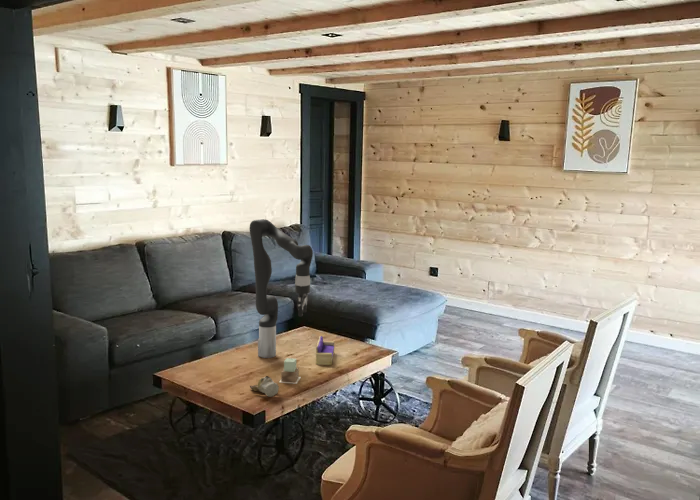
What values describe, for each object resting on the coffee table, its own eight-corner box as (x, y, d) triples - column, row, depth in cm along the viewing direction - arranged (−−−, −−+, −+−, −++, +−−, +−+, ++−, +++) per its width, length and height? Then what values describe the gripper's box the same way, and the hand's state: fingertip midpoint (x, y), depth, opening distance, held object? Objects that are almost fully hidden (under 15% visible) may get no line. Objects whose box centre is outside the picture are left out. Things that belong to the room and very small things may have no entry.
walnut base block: (281, 381, 297) (281, 371, 296) (284, 376, 303) (284, 366, 303) (295, 382, 296) (295, 372, 295) (298, 377, 303) (298, 367, 302)
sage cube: (284, 371, 297) (284, 361, 296) (286, 367, 302) (286, 358, 301) (294, 371, 296) (294, 362, 295) (296, 368, 301) (296, 358, 300)
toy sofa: (331, 365, 323) (332, 347, 321) (315, 365, 323) (315, 346, 321) (334, 352, 343) (335, 335, 342) (319, 352, 344) (319, 334, 342)
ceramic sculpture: (264, 382, 274) (248, 374, 286) (265, 400, 275) (248, 392, 287) (284, 377, 281) (267, 369, 292) (285, 395, 282) (267, 387, 293)
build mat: (275, 384, 295) (275, 383, 295) (281, 375, 306) (281, 374, 306) (299, 386, 293) (299, 385, 293) (304, 377, 305) (304, 376, 305)
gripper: (298, 280, 321) (298, 310, 324) (292, 286, 307) (292, 317, 310) (312, 281, 320) (312, 311, 323) (306, 287, 306) (306, 318, 309)
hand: (302, 314), depth 317 cm, fingers open, 8 cm apart
